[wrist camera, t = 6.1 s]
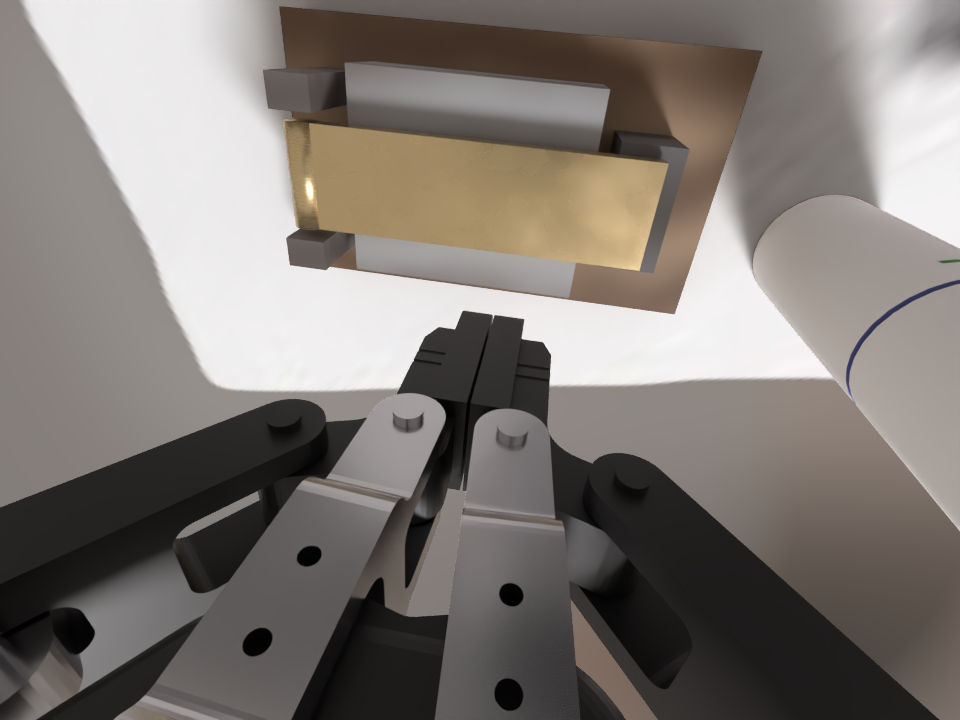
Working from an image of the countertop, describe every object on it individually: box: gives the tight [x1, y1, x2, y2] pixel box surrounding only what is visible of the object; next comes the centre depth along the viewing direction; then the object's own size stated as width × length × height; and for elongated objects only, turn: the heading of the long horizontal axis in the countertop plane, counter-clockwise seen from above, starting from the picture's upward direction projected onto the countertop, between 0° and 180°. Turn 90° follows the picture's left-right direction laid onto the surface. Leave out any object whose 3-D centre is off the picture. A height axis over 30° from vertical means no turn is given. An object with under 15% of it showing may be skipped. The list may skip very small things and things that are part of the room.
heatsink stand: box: [263, 6, 762, 314], centre depth 27 cm, size 14×24×9 cm, turn 85°
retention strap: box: [283, 118, 669, 271], centre depth 24 cm, size 5×18×2 cm, turn 85°
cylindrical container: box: [753, 194, 960, 531], centre depth 20 cm, size 7×7×25 cm
